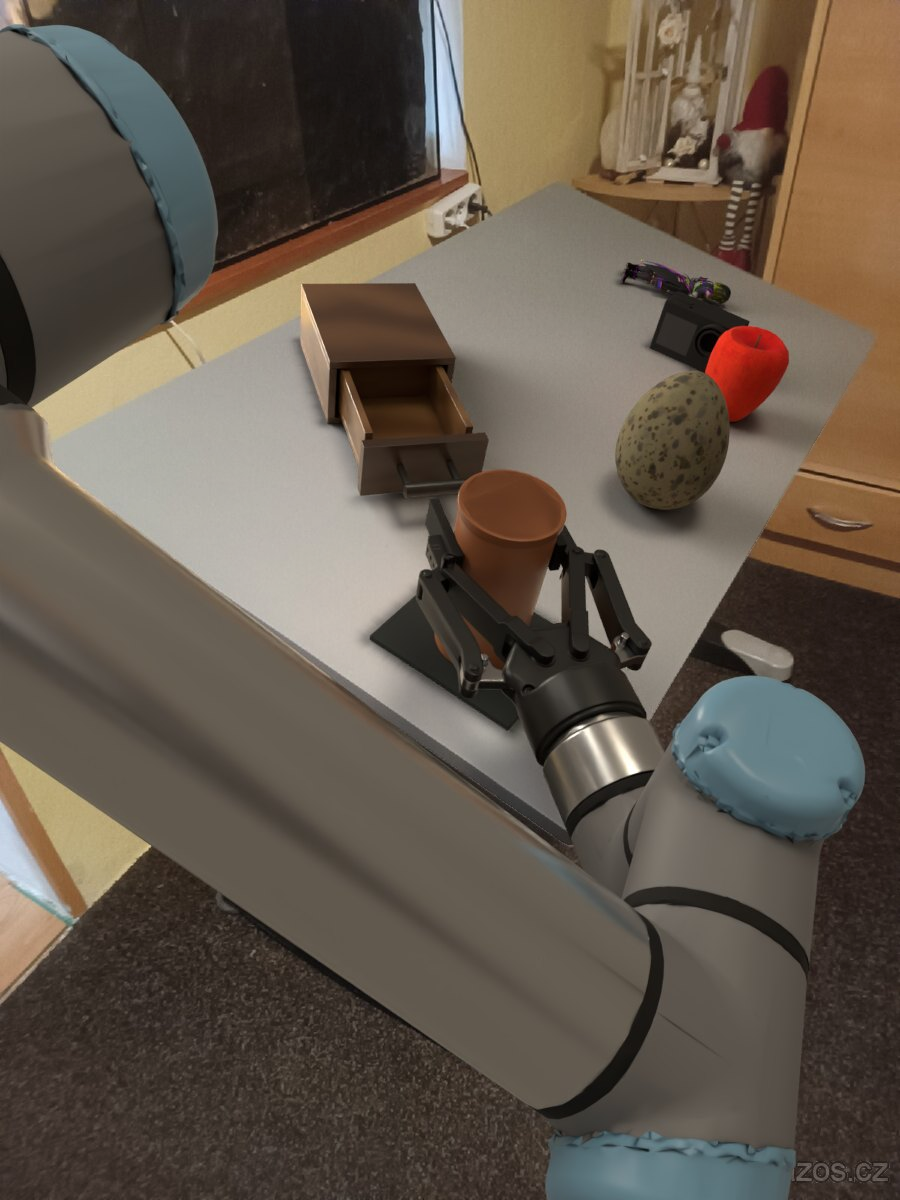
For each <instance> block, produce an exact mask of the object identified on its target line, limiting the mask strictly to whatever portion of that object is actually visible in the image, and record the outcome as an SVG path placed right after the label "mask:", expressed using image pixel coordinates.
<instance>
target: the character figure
mask: <svg viewBox="0 0 900 1200" xmlns="http://www.w3.org/2000/svg"><path fill="white" fill-rule="evenodd" d="M644 262H647V263H644ZM620 278H621V279H620V285H624V284H625V282H626V281H627V279H629V280H633V281H636V280H637V279H638V280H642V281H646V285H652V286H654V288H655V289H656V290H657V291H663V292H667V293H669V294H671V295H673V294H675V293H676V292H677V291H680V292H682V293H684V294H687V295H689V296H692V297H694V298H696V299H699V300H701V301H704V300H705V299H707V300H708V301H714V302H716V303H718V304H720V305H723V304H725V303H727V302H728V301H729V300H730V298H731V295H732V290H731V288H730V287H729V286H728V285H726V284H724V283H722V282H720V281H719V282H717V281H715V282H713V281H711V280H709V278H708V277H703V276H699V277H692V278H690V276H689V275H688V274H686V273H684V274H681V273H680V272H677V271H675V269H672V268H671V267H668V266H666V265H664V264H661V263H658V262H654V261H649V260H644V259H643V258H641V259H640V262H639V264H638V263H637V264H636V263H632V262H629V261H627V262H626V265H625V267H624V269H623V272H622V276H621V277H620Z"/></svg>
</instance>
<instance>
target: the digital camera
mask: <svg viewBox="0 0 900 1200" xmlns="http://www.w3.org/2000/svg"><path fill="white" fill-rule="evenodd" d="M749 324H750V320H749V319H747V318H743V317H742V316H739V315H737V314H734V313H732V312H730V311H728V310H725V309H723V308H721V307H718V306H715V305H713V304H711V303H709V302H707V301H704V300H699V299H697V298H694V297H692V296H689V295H687V294H684V293H682V292H680V291H677V292H676V293H675V294H671V296H670V297H668V298H666V300H665V302H664V305H663V307H662V310H661V313H660V316H659V319H658V322H657V324H656V328H655V331H654V333H653V336H652V339H651V342H650V345H649V349H651V350H653V351H655V352H657V353H660V354H662V355H664V356H666V357H668V358H670V359H672V360H675V361H678V362H680V363H682V364H684V365H686V366H688V367H691V368H693V369H695V370H696V371H700V372H703V373H705V371H706V368H707V364H708V361H709V358H710V355H711V353H712V351H713V349H714V347H715V345H716V343H717V341H718V339H719V338H720V336H721V335H722V334H723V333H724V332H725V331H728V330H730V329H732V328H734V327H739V326H750V325H749Z"/></svg>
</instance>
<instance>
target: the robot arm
mask: <svg viewBox="0 0 900 1200" xmlns="http://www.w3.org/2000/svg"><path fill="white" fill-rule="evenodd" d="M214 194H215V193H214V190H213V185H212V183H211V179H210V176H209V173H208V170H207V167H206V165H205V162H204V159H203V156H202V154H201V151H200V149H199V147H198V145H197V143H196V141H195V139H194V137H193V135H192V132H191V131H190V129H189V127H188V126H187V123H186V122H185V120H184V118H183V117H182V115H181V114H180V112H179V111H178V109H177V108H176V106H175V104H174V103H173V102H172V100H171V98H170V97H169V96H168V95H167V93H166V92H165V91H164V90H163V88H162V87H161V86H160V85H159V83H158V82H157V81H156V80H155V79H154V77H152V76H151V75H150V74H149V72H148V71H147V70H146V69H144V67H143V66H142V65H141V64H139V63H138V62H137V61H135V60H133V59H132V58H130V57H128V56H127V55H125V54H124V53H123V52H121V51H120V50H119V49H118V48H117V47H116V46H115V44H113V43H111V42H109V41H108V39H106V38H104V37H102V36H101V35H99V34H96V33H94V32H92V31H89V30H86V29H83V28H80V27H76V26H71V25H63V24H51V25H43V26H32V27H29V26H26V25H24V24H22V23H20V24H19V23H14V24H11V25H8V26H5V27H3V28H1V29H0V743H1V744H2V745H4V746H6V747H7V748H8V749H10V750H11V751H13V752H14V753H16V754H17V755H18V756H20V757H21V758H23V759H24V760H26V761H27V762H29V763H30V764H32V765H33V766H34V767H36V768H38V769H39V770H40V771H42V772H43V773H44V774H46V775H48V776H49V777H51V778H52V779H53V780H55V781H56V782H57V783H58V784H61V785H62V786H64V787H65V788H66V789H67V790H70V791H71V792H72V793H74V794H75V795H77V796H78V797H80V798H81V799H82V800H83V801H85V802H87V804H90V805H91V806H92V807H94V808H96V809H97V810H98V811H100V812H102V813H103V814H104V815H106V816H107V817H108V818H110V819H111V820H112V821H114V822H116V823H117V824H118V825H120V826H122V827H123V828H125V830H127V831H129V832H131V833H132V834H133V835H134V836H136V837H137V838H139V839H140V840H142V841H143V842H145V843H146V844H148V845H149V846H150V847H152V848H154V850H157V851H158V852H159V853H161V854H162V855H164V856H165V857H166V858H167V859H170V860H171V861H172V862H174V863H175V864H177V865H178V866H180V867H181V868H183V869H184V870H185V871H187V872H189V873H190V874H191V875H193V876H194V877H195V878H197V879H198V880H200V881H201V882H203V883H204V884H206V885H207V886H209V887H210V888H211V889H213V890H214V891H216V892H217V893H219V894H220V895H221V896H223V897H225V898H226V899H228V900H229V901H230V902H232V903H234V904H235V905H237V907H239V908H241V909H242V910H244V911H245V912H247V914H250V915H251V916H252V917H254V918H255V919H257V921H260V922H261V923H263V924H264V925H266V926H267V927H268V928H270V929H271V930H272V931H274V932H275V933H277V934H279V935H280V936H281V937H283V938H284V939H286V940H287V941H289V942H290V943H291V944H293V945H294V946H296V947H297V948H298V949H301V951H303V952H304V953H306V954H308V955H309V956H310V957H311V958H313V959H315V960H316V961H318V962H319V963H321V964H322V965H323V966H325V967H327V968H328V969H329V970H331V971H332V972H333V973H335V974H336V975H338V976H339V977H341V978H342V979H344V980H345V981H347V982H348V983H350V984H351V985H353V986H354V987H355V988H357V989H359V990H360V991H361V992H363V993H364V994H365V995H367V996H368V997H370V998H371V999H373V1000H374V1001H376V1002H377V1003H379V1004H380V1005H381V1006H383V1007H385V1009H387V1010H389V1011H390V1012H392V1014H394V1015H396V1016H397V1017H399V1018H400V1019H402V1020H403V1021H405V1022H406V1023H408V1024H409V1025H411V1026H412V1027H413V1028H414V1029H417V1030H418V1031H419V1032H421V1033H422V1034H424V1035H425V1036H427V1037H428V1038H429V1039H431V1040H432V1041H434V1042H435V1043H437V1044H438V1045H440V1046H441V1047H443V1048H444V1049H445V1050H447V1051H449V1052H450V1053H451V1054H452V1055H454V1056H455V1057H457V1058H458V1059H460V1060H461V1061H463V1062H464V1063H466V1064H467V1065H469V1066H470V1067H471V1068H473V1069H474V1070H476V1071H477V1072H479V1074H481V1075H483V1076H485V1077H486V1078H487V1079H489V1080H491V1081H492V1082H493V1083H495V1084H496V1085H498V1086H499V1087H500V1088H502V1089H504V1090H505V1091H506V1092H508V1093H509V1094H511V1095H512V1096H514V1097H515V1098H516V1099H518V1100H519V1101H521V1102H522V1103H524V1104H525V1105H527V1106H528V1107H529V1108H531V1109H532V1110H534V1111H535V1112H537V1113H538V1114H539V1115H540V1116H541V1117H542V1118H543V1119H544V1120H546V1121H547V1122H548V1123H549V1124H550V1125H551V1126H552V1127H553V1128H554V1129H555V1131H554V1132H553V1134H552V1135H551V1137H550V1140H549V1141H548V1143H547V1146H548V1148H549V1153H550V1157H549V1162H548V1167H547V1172H546V1176H545V1181H544V1187H545V1188H544V1189H545V1196H546V1200H789V1195H790V1189H791V1183H792V1179H793V1178H792V1177H793V1171H794V1169H795V1168H796V1165H797V1151H796V1150H795V1145H796V1144H795V1143H796V1129H797V1117H798V1105H799V1091H800V1076H801V1064H802V1051H803V1041H804V1040H803V1039H804V1028H805V1027H804V1026H805V1025H804V1023H805V1011H806V998H807V986H808V977H809V972H810V962H811V952H812V942H813V931H814V921H815V909H816V900H817V899H816V898H817V889H818V877H819V866H820V857H821V851H822V848H823V845H824V843H825V841H826V840H828V839H829V837H830V836H832V835H834V834H836V833H838V832H839V831H841V829H842V828H843V824H844V823H846V822H847V818H848V814H849V813H850V812H851V810H852V809H853V807H854V806H855V804H856V803H857V802H858V800H859V799H860V797H861V795H862V792H863V790H864V787H865V781H866V780H865V779H866V766H865V761H864V756H863V752H862V749H861V748H860V745H859V742H858V741H857V739H856V737H855V735H854V734H853V733H852V731H851V729H850V727H849V726H848V725H847V724H846V722H845V721H844V720H843V719H842V718H841V716H840V715H838V714H837V713H836V711H834V710H833V709H832V707H830V706H829V705H828V704H827V703H826V702H824V701H823V700H822V699H820V698H818V697H817V696H816V695H814V694H813V693H812V692H810V691H807V690H806V689H803V688H797V687H795V686H794V685H792V683H787V682H782V681H781V680H780V679H777V678H773V677H769V676H762V675H761V676H760V675H743V676H742V675H741V676H735V677H733V678H728V679H725V680H722V681H720V682H718V683H715V685H713V686H711V687H710V688H709V689H708V690H706V691H705V692H704V693H703V694H702V695H701V696H700V698H699V699H698V701H696V703H695V704H694V705H693V707H692V708H691V709H690V711H689V712H688V713H687V715H686V716H685V717H684V718H683V719H682V720H681V722H679V723H676V726H675V727H674V729H673V730H672V739H671V740H670V742H669V744H668V746H667V747H666V746H665V744H664V741H663V740H662V738H661V736H660V734H659V732H658V730H657V729H656V726H655V725H654V723H652V722H651V721H650V720H649V719H648V715H647V711H646V709H645V707H644V706H643V703H642V702H641V700H640V698H639V696H638V694H637V693H636V690H635V689H634V687H633V684H632V683H631V681H630V679H629V678H628V676H627V674H626V673H625V672H624V670H623V669H626V668H627V670H630V671H633V672H636V671H639V670H641V668H642V666H643V665H644V663H645V661H646V659H647V656H648V654H649V652H650V649H651V647H652V646H653V643H652V640H651V639H650V638H649V637H648V635H647V634H646V633H645V632H644V631H643V630H642V628H641V627H640V625H638V624H637V622H636V621H635V618H634V615H633V613H632V610H631V608H630V607H631V606H630V605H629V602H628V600H627V597H626V594H625V592H624V589H623V587H622V584H621V582H620V579H619V577H618V574H617V572H616V569H615V566H614V564H613V561H612V558H611V555H610V554H609V552H607V551H606V550H604V549H601V548H599V549H595V550H594V552H587V551H585V550H584V549H583V548H582V547H580V546H579V545H577V543H576V541H575V540H574V538H573V535H571V533H570V531H569V529H568V527H567V525H565V524H564V527H563V530H562V532H561V533H560V535H559V536H558V537H557V540H556V543H555V546H554V550H553V553H552V556H551V559H550V562H549V565H548V571H550V572H553V571H559V570H560V568H562V570H561V572H560V575H559V578H558V579H559V580H560V581H561V582H560V583H561V585H560V587H561V589H560V593H561V594H560V596H561V598H560V599H561V601H560V602H561V603H560V609H561V610H560V611H561V612H560V614H561V616H560V617H561V620H560V621H561V622H555V623H553V625H550V626H548V627H539V626H532V627H529V626H528V625H527V624H526V623H525V622H523V621H522V620H521V619H520V618H519V617H518V616H511V615H510V614H509V613H507V612H506V611H505V610H504V609H503V608H502V607H501V606H500V605H499V604H498V603H497V602H496V601H495V600H494V599H493V598H492V597H491V596H490V595H489V594H488V593H487V592H485V591H484V590H483V589H482V588H481V587H480V586H479V585H478V584H477V583H476V582H475V581H474V580H473V579H472V578H471V577H470V576H469V575H468V574H467V573H466V572H465V571H464V570H462V569H461V567H462V562H463V557H464V555H463V553H462V551H461V548H460V546H459V544H458V542H457V540H456V537H455V535H454V529H453V528H452V525H451V524H450V521H449V519H448V516H447V514H446V512H445V509H444V507H443V504H442V503H441V500H440V498H438V497H437V498H436V497H435V498H429V500H428V506H427V510H426V511H427V512H426V518H425V524H424V525H425V527H426V530H427V533H428V536H427V542H426V548H425V557H426V559H427V562H428V565H429V567H430V569H428V568H424V569H421V570H420V572H419V574H418V579H417V586H416V592H415V595H416V601H417V603H418V604H419V606H420V608H421V610H422V611H423V613H424V615H425V616H426V618H427V620H428V622H429V623H430V625H431V627H432V629H433V630H434V632H435V634H436V635H437V637H438V639H439V641H440V642H441V644H442V646H443V648H444V649H445V651H446V653H447V655H448V656H449V658H450V660H451V661H452V663H453V665H454V667H455V668H456V670H457V675H458V683H459V691H460V693H461V695H462V696H464V697H466V698H473V697H475V696H476V695H477V692H478V690H501V691H502V692H503V694H504V695H505V696H506V697H508V698H509V699H510V700H511V701H512V702H513V703H514V705H515V706H516V709H517V712H518V716H519V718H518V719H519V721H520V724H521V726H522V727H521V728H522V730H523V731H524V734H525V736H526V739H527V741H528V744H529V746H530V748H531V751H532V753H533V756H534V757H535V760H536V762H537V764H538V765H540V767H542V776H543V778H544V781H545V783H546V785H547V788H548V790H549V792H550V795H551V797H552V799H553V802H554V804H555V807H556V809H557V811H558V813H559V816H560V818H561V820H562V823H563V826H564V827H565V830H566V833H567V835H568V838H569V841H570V842H571V844H572V845H573V848H574V850H575V853H576V856H577V858H578V860H579V862H580V866H581V867H580V866H578V864H576V863H575V862H574V861H573V860H571V859H570V858H568V857H567V856H566V855H564V854H563V853H561V852H560V851H559V850H558V849H556V847H554V846H553V845H551V844H550V843H549V842H547V841H546V840H545V839H543V838H542V837H541V836H539V835H538V834H537V833H536V832H534V831H533V830H531V828H529V827H528V826H527V825H525V824H524V823H522V822H521V821H520V820H518V819H517V818H516V817H515V816H513V815H512V814H511V813H509V812H508V811H506V810H505V809H504V808H503V807H502V806H500V805H499V804H497V803H496V802H495V801H494V800H492V799H491V798H489V797H488V796H487V795H486V794H485V793H483V792H482V791H481V790H479V789H478V788H477V787H475V786H474V785H473V784H471V782H469V781H467V780H466V779H465V778H464V777H462V776H461V775H460V774H458V773H457V772H455V771H454V770H453V769H452V768H451V767H450V766H448V765H447V764H445V762H442V761H441V760H440V759H439V758H437V757H436V756H435V755H433V754H432V753H431V752H429V751H428V750H427V749H426V748H424V747H423V746H422V745H420V744H419V743H417V742H416V741H415V740H414V739H413V738H411V737H410V736H409V735H408V734H406V733H405V732H403V731H402V730H401V729H400V728H398V727H397V726H395V725H394V724H393V723H392V722H390V721H389V720H388V719H386V718H385V717H383V716H382V715H381V714H380V713H378V712H377V711H376V710H375V709H373V708H372V707H371V706H369V705H368V704H367V703H365V702H364V701H363V700H362V699H360V698H359V697H357V696H356V695H355V694H353V692H351V691H349V689H347V688H346V687H344V686H343V685H341V683H339V682H338V681H337V680H336V679H334V678H333V677H332V676H330V675H329V674H327V673H326V672H325V671H323V670H322V669H321V668H319V667H318V666H317V665H316V664H314V663H313V662H312V661H311V660H309V659H308V658H306V657H305V656H303V655H302V654H301V653H300V652H298V651H297V650H296V649H294V647H292V646H291V645H289V644H288V643H287V642H285V641H284V640H283V639H282V638H281V637H279V636H278V635H277V634H275V633H274V632H273V631H272V630H270V629H268V628H267V627H266V626H265V625H263V624H262V623H261V622H259V621H258V620H257V619H255V618H254V617H252V616H251V615H250V614H249V613H248V612H246V611H245V610H244V609H242V608H241V607H239V606H238V605H237V604H235V603H234V602H233V601H232V600H230V599H229V598H228V597H226V596H225V595H224V594H222V592H220V591H219V590H217V589H216V588H215V587H214V586H212V585H211V584H209V583H208V582H207V581H206V580H204V579H203V578H202V577H200V576H199V575H198V574H197V573H195V572H194V571H192V570H191V569H190V568H188V567H187V566H186V565H184V564H183V563H182V562H181V561H179V560H178V559H177V558H176V557H174V556H173V555H172V554H170V553H169V552H168V551H166V550H165V549H164V548H162V547H161V546H160V545H159V544H157V543H156V542H155V541H153V540H152V539H150V538H149V537H148V536H147V535H146V534H144V533H143V532H142V531H140V530H139V529H138V528H136V527H135V526H133V525H132V524H131V523H130V522H128V521H127V520H126V519H124V518H123V517H122V516H120V515H119V514H118V513H117V512H115V511H114V510H112V509H111V508H110V507H109V506H108V505H106V504H105V503H103V502H102V501H101V500H100V499H98V498H97V497H95V495H93V494H92V493H90V492H89V491H88V490H87V489H85V488H84V487H82V486H81V485H79V483H78V482H76V481H74V480H73V479H72V478H71V477H70V476H68V475H67V474H65V472H63V471H62V470H60V469H59V468H57V465H56V463H55V461H54V456H53V445H52V437H51V429H50V426H49V423H48V421H47V420H46V419H45V417H44V416H43V415H41V414H40V413H39V412H37V411H36V410H35V409H34V407H36V406H37V405H38V404H40V403H42V402H43V401H45V400H46V399H48V398H49V397H52V395H54V394H55V393H56V392H58V391H60V390H61V389H63V388H64V387H66V386H67V385H69V384H71V383H72V382H74V381H75V380H77V379H78V378H80V377H82V376H83V375H84V374H86V373H88V372H89V371H90V370H92V369H94V368H95V367H97V366H99V364H101V363H103V362H104V361H106V360H108V359H110V357H112V356H114V355H115V354H117V353H118V352H120V351H121V350H123V349H125V348H126V347H127V346H129V345H130V344H132V343H134V342H135V341H137V340H138V339H140V338H141V337H142V336H144V335H145V334H147V333H149V332H150V331H152V330H153V329H155V328H156V327H158V326H163V325H167V324H168V323H170V322H172V321H173V319H174V318H175V317H178V316H179V312H181V310H182V309H184V308H185V306H187V305H189V303H190V302H191V301H192V300H193V299H195V297H196V296H197V295H198V294H199V293H201V291H202V290H203V289H204V287H205V285H206V284H207V282H208V280H209V279H210V276H211V274H212V273H213V269H214V266H215V260H216V246H217V241H218V237H219V221H218V211H217V205H216V204H217V203H216V199H215V195H214ZM586 581H587V585H588V587H589V591H590V593H591V596H592V600H593V602H594V604H595V608H596V610H597V613H598V615H599V619H600V622H601V625H602V627H603V630H604V633H605V635H606V638H607V641H608V644H609V646H610V647H609V646H607V645H605V644H604V643H603V642H601V641H599V640H597V639H596V638H594V637H593V636H591V635H590V623H589V622H590V620H589V610H587V590H586ZM461 615H462V616H463V617H464V618H465V619H466V620H467V621H468V622H469V623H470V624H471V625H472V626H473V627H474V628H475V629H476V630H477V631H478V632H479V633H480V634H481V635H482V636H483V637H484V638H485V639H486V640H487V641H488V642H489V643H490V644H491V645H492V647H493V650H494V653H495V655H496V656H497V657H498V658H499V659H500V660H501V661H502V662H503V663H504V664H505V665H504V668H503V670H501V669H497V668H495V667H494V666H493V665H492V663H491V661H490V660H489V656H488V655H487V654H485V653H483V654H481V651H480V648H479V645H478V643H477V641H476V639H475V637H474V636H473V634H472V632H471V631H470V629H469V627H468V626H467V624H466V623H465V621H464V619H463V618H462V616H461Z"/></svg>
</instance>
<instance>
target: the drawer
mask: <svg viewBox="0 0 900 1200" xmlns="http://www.w3.org/2000/svg"><path fill="white" fill-rule="evenodd" d="M335 402H336V405H337V408H338V411H339V414H340V417H341V419H342V422H343V423H342V425H343V428H344V430H345V434H346V436H347V440H348V442H349V444H350V447H351V451H352V453H353V456H354V459H355V462H356V465H357V468H358V475H357V477H358V478H357V492H358V493H359V497H362V496H375V495H388V494H389V495H390V494H401V493H402V495H403V497H404V498H405V499H408V498H418V497H421V498H422V497H431V496H443V495H455V494H456V495H457V494H458V493H459V490H460V488H461V486H462V485H463V483H464V482H465V481H466V480H467V479H469V478H470V477H472V476H473V475H475V474H478V473H480V472H483V469H484V464H485V459H486V455H487V449H488V446H489V440H490V439H489V438H488V435H487V433H486V432H474V427H475V426H474V425H473V422H472V420H471V418H470V417H469V414H468V413H467V411H466V409H465V407H464V405H463V403H462V401H461V399H460V397H459V395H458V394H457V391H456V389H455V387H454V385H453V383H452V384H451V382H450V380H449V378H448V376H447V374H446V372H445V370H444V369H443V367H442V365H422V366H394V367H366V368H339V369H337V380H336V400H335Z"/></svg>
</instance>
